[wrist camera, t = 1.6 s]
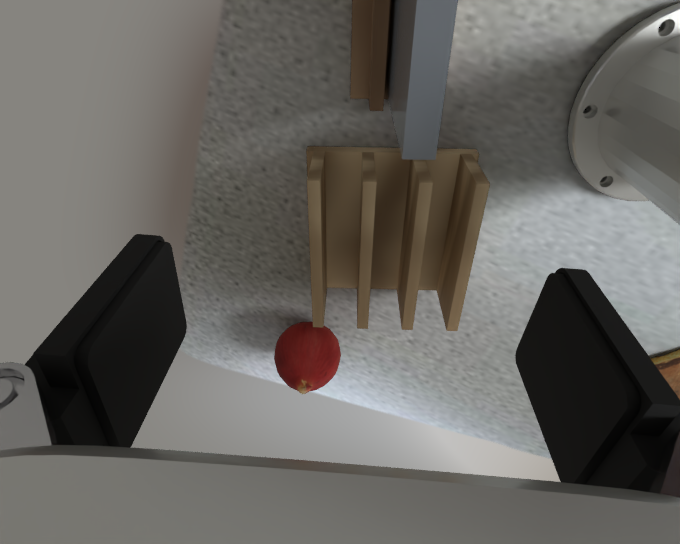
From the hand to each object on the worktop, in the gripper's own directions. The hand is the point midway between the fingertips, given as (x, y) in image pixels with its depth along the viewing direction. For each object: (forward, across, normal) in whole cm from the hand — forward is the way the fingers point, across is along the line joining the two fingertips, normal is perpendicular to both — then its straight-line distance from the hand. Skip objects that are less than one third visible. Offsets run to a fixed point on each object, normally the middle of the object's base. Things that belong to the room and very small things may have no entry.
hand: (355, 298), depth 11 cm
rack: (+22, -3, +10) cm, 24 cm away
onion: (+22, +3, +21) cm, 31 cm away
